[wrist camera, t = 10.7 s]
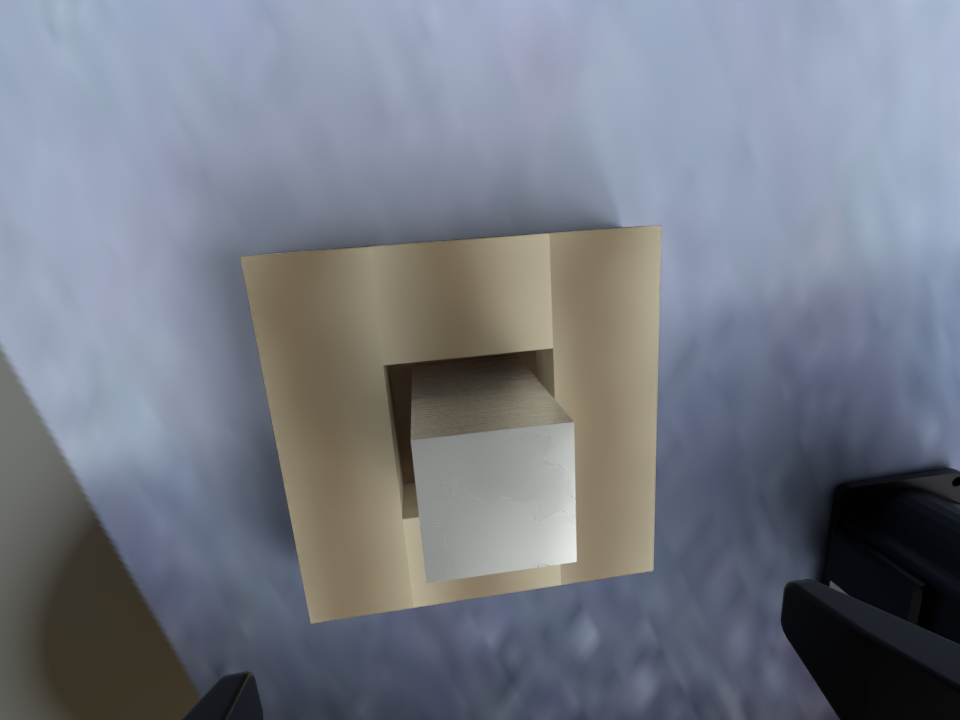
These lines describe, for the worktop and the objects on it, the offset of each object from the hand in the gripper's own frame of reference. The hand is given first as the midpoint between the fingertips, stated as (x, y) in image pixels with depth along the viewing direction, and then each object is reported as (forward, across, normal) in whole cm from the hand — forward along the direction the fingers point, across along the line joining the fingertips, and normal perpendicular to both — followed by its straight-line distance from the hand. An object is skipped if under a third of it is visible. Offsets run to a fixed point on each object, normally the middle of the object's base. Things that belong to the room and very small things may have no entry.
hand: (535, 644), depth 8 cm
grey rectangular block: (+11, 0, 0) cm, 11 cm away
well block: (+12, 0, 0) cm, 12 cm away
